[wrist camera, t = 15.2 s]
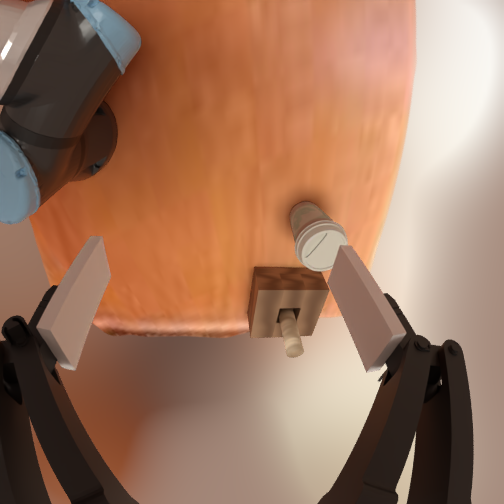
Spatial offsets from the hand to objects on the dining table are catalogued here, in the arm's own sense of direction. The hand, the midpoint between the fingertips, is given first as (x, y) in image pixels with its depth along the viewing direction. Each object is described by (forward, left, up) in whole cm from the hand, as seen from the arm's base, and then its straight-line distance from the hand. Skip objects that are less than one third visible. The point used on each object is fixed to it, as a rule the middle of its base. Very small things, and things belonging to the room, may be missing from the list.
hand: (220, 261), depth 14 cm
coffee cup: (+16, -12, -32) cm, 38 cm away
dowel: (+15, -31, -30) cm, 45 cm away
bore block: (+15, -31, -32) cm, 47 cm away
